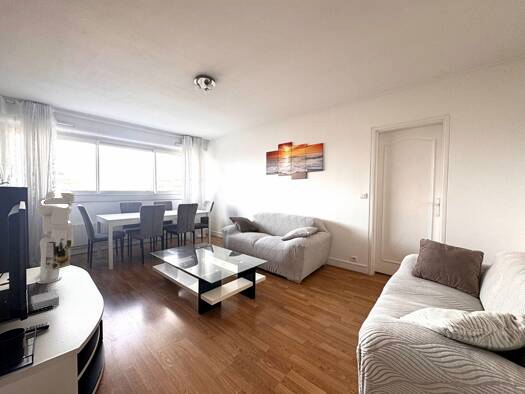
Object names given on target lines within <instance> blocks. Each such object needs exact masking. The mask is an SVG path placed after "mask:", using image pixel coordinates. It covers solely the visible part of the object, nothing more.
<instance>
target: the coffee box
mask: <svg viewBox="0 0 525 394" xmlns="http://www.w3.org/2000/svg"><path fill="white" fill-rule="evenodd" d="M59 245H62V244H61V243H60V244H59ZM61 247H62V246H61ZM61 247H60V248H61ZM71 250H72V247H71V240H67V243H66V246H65V256H63V257H57V255H58V246H57V247H56V243H54V242H52V241H51V242H47V247H46V262H45V269H48V270H57V269H62V268H66V267H69V266H71Z"/></svg>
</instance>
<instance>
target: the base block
mask: <svg viewBox="0 0 525 394" xmlns="http://www.w3.org/2000/svg"><path fill="white" fill-rule="evenodd" d="M31 304H32V306H33V309H37V308H42V307H46V306H50V305H52V307H55V306H59V305H60V296H59V294H58V292H57V290H51V291H47V292H43V293H39V294H36V295H32V296H30V305H31ZM32 306H31V307H32ZM33 309H32V310H33Z"/></svg>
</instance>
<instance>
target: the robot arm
mask: <svg viewBox="0 0 525 394" xmlns="http://www.w3.org/2000/svg"><path fill="white" fill-rule="evenodd" d="M74 201H75V194H74V193H73V192H71V191H67V190H64V191H62V190H51V191H48V192H47V193H46V194H45V197H42V198H39V199H38V202H37V211H38V214H39V216H40V217H42V233H43V234H44V235H48V236H46V237H43V238H41V239H40V240H39V249H40V270H39V271H40V272H39V273H40V274H39V278H37V280H36V283H37V284H49V283H50V284H51V283H54V282H57V281H59V280H61V279H62V275H61V274H60V270H59V269H57V270H48V269H45V262H46V247H47V242H51V241H52V242H54V243H56V247H57V246H58V255H57V257H63V256H65V246H66V243H67V240H71V248H72V247H73V246H74V241H75V240H74V225H73V223H72V222H71V221H70V220H69V219H70V214H71V213H72V206H73V203H74ZM60 243H61V244H62V245H59V244H60ZM61 246H62V247H61ZM60 247H61V248H60Z"/></svg>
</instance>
